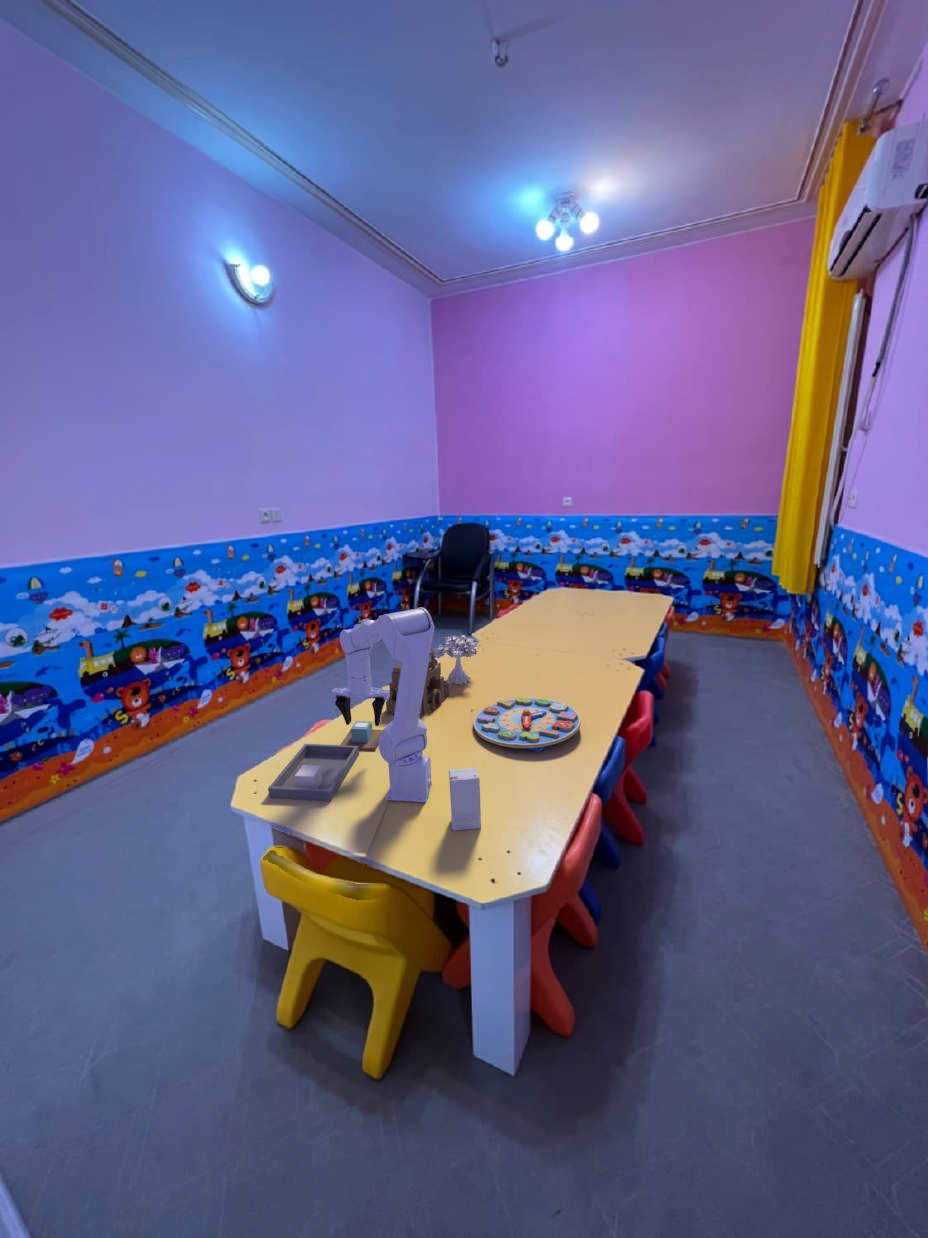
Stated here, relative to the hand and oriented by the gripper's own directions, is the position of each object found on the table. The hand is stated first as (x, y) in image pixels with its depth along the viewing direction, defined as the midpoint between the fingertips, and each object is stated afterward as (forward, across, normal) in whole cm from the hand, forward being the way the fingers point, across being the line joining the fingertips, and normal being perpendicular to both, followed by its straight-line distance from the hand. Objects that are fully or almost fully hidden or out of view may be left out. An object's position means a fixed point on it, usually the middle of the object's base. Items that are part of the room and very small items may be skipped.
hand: (363, 723), depth 125 cm
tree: (+10, -18, -53) cm, 57 cm away
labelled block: (+8, +3, -7) cm, 11 cm away
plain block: (+9, +9, +14) cm, 19 cm away
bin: (+9, +9, +10) cm, 16 cm away
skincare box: (+10, -29, +24) cm, 39 cm away
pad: (+9, +3, -7) cm, 12 cm away
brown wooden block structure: (+10, -8, -33) cm, 35 cm away
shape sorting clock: (+10, -42, -19) cm, 47 cm away
